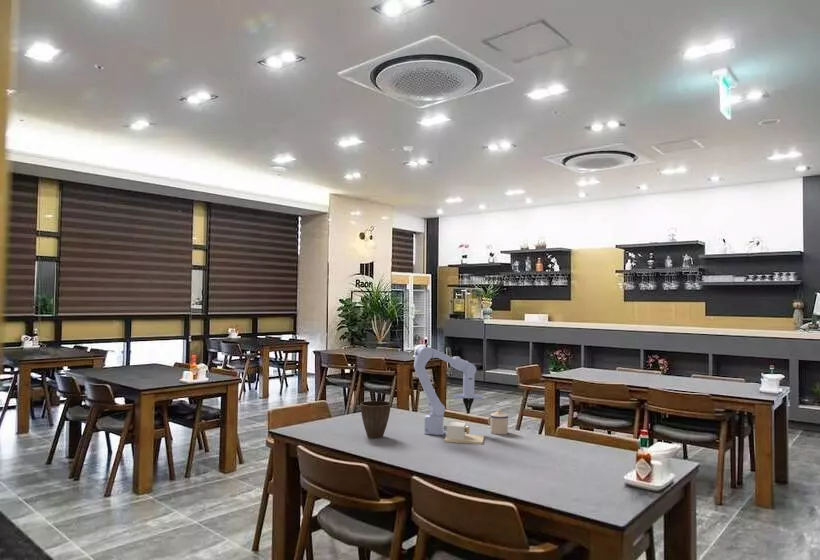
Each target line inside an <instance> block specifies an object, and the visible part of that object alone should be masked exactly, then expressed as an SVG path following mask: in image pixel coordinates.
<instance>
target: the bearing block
mask: <svg viewBox="0 0 820 560" xmlns="http://www.w3.org/2000/svg"><path fill="white" fill-rule="evenodd" d="M446 426H447V431H446V435H445V438H444V439H443V442H444V443H453V442H455V443H457V444H458V443H459V444H472V445H473V444H474V445H483V444H484V439H485V435H483V434H470V433H469V434H466V432H464V427H466V422H460V421H459V422H456V421H449V422H448V424H447V425H446Z"/></svg>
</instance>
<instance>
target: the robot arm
mask: <svg viewBox="0 0 820 560" xmlns="http://www.w3.org/2000/svg"><path fill="white" fill-rule="evenodd" d="M436 358H437V359H440V360H442V361H444V362H446V363H449V365H450V368H452V369H455V370H457V371H460V372H462V373H463V374H462V375H463V377H462V393H461V394H460V393H459V394H458V393H456V394H454V395H453V399H457V400H458V399H460V400H461V399H462V403H464V407H465V410H466V415H467V414H470V413H471V408H472V405H473V402H474V401H475V400H479V401H483V400H484V395H479V394H475V374H476V372H477V370H478V369H477V367H476V365H475V364H474V363H471V362H469V361H468V360H465V359H462V358H461V356H458V355H457V356H449V355H448V354H446V353H444V352H441V351H440V350H437V349H434V348H431V347H428V346H424V345H420V346H418V347H417V349H416V350H415V352H414V361H413V368H414V371H415V372H416V375H417V377H418V381H419V382H420V385H421V386H422V389H423V391H424V395H425V396H426V401H427V403H428V406H427V407H428V408H427V409H428V410H429V413H428V414H425V416H424V431H423V432H424V434H425V435H438V436H440V435H441V436H443V435H444V434H445V432H446V431H444V417H445V416H444V415H445V412H446V407H445V405H444V404H443V403H442V402H441V400H440V399H439V397H438V395H437V393H436V391H435V389H434V388H435V387H434V386H433V384H432V381H431V379H430V376H429V375H428V372H427V370H426V366H427V363H428V362H429V361H430V360H431V359H436Z"/></svg>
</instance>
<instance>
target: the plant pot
mask: <svg viewBox="0 0 820 560" xmlns="http://www.w3.org/2000/svg"><path fill="white" fill-rule="evenodd" d="M359 404H360V412H361V419H362V423H363V426H364V430H365V434H366V436H367V437H368V438H370V439H381V438H383V437H384V434H385V431H386V428H387V425H388V421H389V419H390V417H389V416H390V413H391V406H392V403H391V402H389V401H385V400H384V401H382V400H381V401H380V400H370V401H368V400H367V401H362V402H360V403H359Z"/></svg>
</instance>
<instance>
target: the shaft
mask: <svg viewBox="0 0 820 560" xmlns="http://www.w3.org/2000/svg"><path fill="white" fill-rule="evenodd" d="M443 431H445V432H447V425H443ZM464 432H465V434H470V425H466V426H465V427H464Z"/></svg>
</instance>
